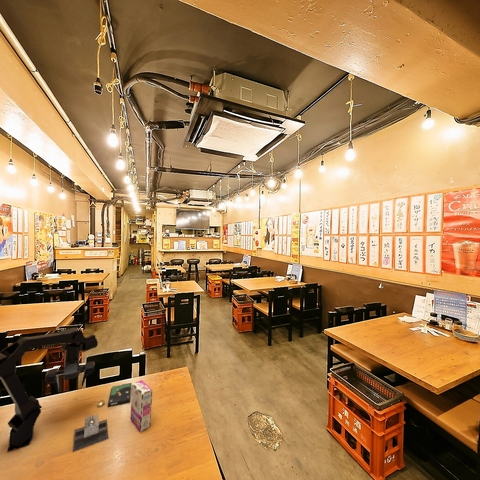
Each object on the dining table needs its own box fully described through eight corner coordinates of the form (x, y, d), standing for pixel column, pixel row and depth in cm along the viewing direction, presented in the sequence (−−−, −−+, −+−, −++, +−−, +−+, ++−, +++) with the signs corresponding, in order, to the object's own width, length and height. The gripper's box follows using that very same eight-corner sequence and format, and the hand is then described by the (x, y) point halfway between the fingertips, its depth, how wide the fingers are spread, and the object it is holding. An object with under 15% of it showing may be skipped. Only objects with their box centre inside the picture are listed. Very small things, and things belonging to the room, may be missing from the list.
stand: (72, 451, 89) (73, 445, 89) (74, 432, 98) (74, 426, 98) (108, 438, 95) (108, 432, 95) (106, 421, 104) (107, 415, 104)
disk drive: (130, 404, 117) (131, 387, 131) (130, 398, 117) (131, 382, 131) (107, 409, 113) (110, 391, 127) (107, 403, 113) (111, 385, 127)
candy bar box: (151, 426, 102) (153, 389, 103) (140, 433, 99) (142, 394, 99) (140, 413, 110) (142, 379, 111) (129, 419, 106) (131, 383, 107)
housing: (84, 426, 98) (84, 416, 98) (97, 421, 101) (98, 411, 101) (83, 437, 92) (84, 427, 92) (98, 432, 95) (98, 422, 95)
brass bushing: (96, 408, 112) (97, 405, 112) (96, 404, 115) (97, 401, 115) (104, 406, 114) (104, 403, 114) (104, 402, 117) (104, 399, 117)
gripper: (43, 368, 97) (41, 406, 96) (95, 358, 107) (93, 392, 106) (48, 357, 106) (45, 391, 105) (95, 349, 116) (93, 380, 116)
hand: (70, 389), depth 108 cm, fingers open, 9 cm apart
